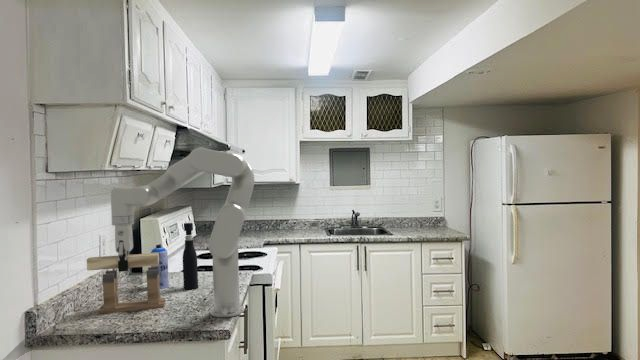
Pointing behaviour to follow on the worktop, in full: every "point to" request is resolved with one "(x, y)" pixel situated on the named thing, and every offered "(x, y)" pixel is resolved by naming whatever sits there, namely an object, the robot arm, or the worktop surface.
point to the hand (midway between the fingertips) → (124, 269)
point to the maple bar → (133, 260)
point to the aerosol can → (162, 266)
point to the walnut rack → (113, 306)
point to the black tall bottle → (189, 260)
